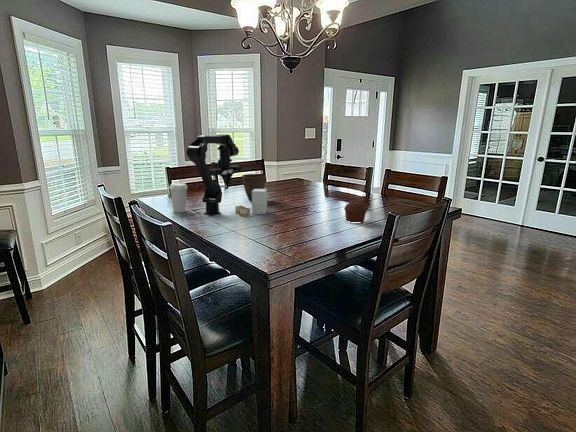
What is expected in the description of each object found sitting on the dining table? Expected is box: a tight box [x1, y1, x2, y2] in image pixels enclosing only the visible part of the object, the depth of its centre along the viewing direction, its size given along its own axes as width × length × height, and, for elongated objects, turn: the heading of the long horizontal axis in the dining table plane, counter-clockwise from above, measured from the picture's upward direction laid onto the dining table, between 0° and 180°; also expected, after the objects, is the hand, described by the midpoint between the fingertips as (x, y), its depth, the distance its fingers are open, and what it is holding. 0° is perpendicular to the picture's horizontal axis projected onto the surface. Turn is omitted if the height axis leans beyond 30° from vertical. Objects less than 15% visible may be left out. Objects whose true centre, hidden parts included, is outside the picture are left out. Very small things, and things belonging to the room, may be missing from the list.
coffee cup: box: [169, 182, 188, 214], centre depth 185 cm, size 10×10×15 cm
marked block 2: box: [239, 207, 251, 218], centre depth 179 cm, size 4×4×4 cm
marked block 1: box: [234, 205, 246, 216], centre depth 184 cm, size 4×4×4 cm
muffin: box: [344, 201, 369, 223], centre depth 171 cm, size 12×11×10 cm
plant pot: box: [241, 173, 267, 202], centre depth 215 cm, size 15×15×16 cm
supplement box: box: [251, 188, 268, 215], centre depth 185 cm, size 7×7×13 cm
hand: (226, 185), depth 192 cm, fingers closed
